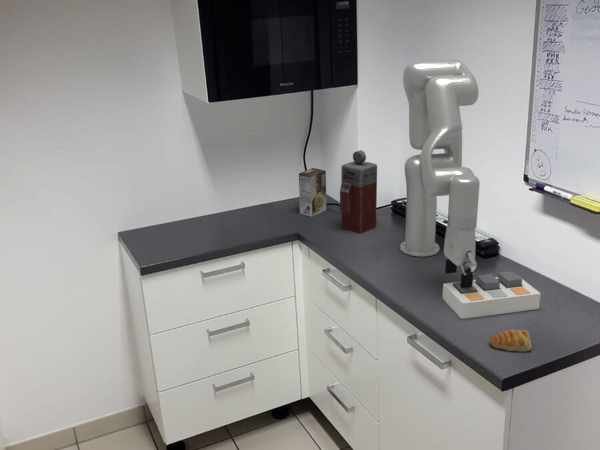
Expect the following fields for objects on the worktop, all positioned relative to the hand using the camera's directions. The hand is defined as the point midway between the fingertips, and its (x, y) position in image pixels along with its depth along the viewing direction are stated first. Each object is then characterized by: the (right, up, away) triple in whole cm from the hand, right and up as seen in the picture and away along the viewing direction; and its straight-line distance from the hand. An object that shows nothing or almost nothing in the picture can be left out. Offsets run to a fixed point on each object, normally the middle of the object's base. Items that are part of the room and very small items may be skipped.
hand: (458, 279), depth 177 cm
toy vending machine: (-23, +14, +53) cm, 59 cm away
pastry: (+7, -14, -23) cm, 28 cm away
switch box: (+8, -6, -3) cm, 10 cm away
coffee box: (-38, +20, +70) cm, 82 cm away
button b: (+7, -3, -2) cm, 8 cm away
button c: (+14, -2, -1) cm, 14 cm away
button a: (+1, -5, -3) cm, 6 cm away
